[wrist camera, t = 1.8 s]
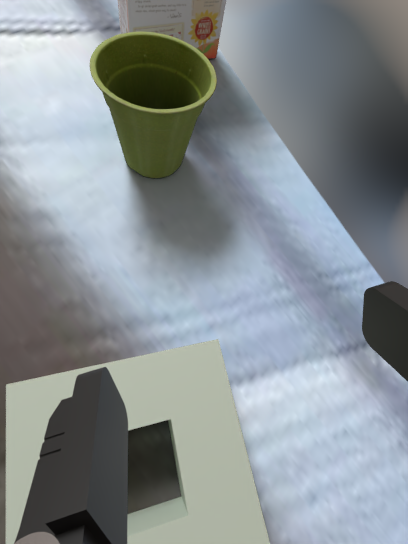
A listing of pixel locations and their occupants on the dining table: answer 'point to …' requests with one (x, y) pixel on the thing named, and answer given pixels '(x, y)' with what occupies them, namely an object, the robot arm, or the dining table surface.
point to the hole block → (184, 434)
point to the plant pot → (153, 96)
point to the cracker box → (176, 20)
